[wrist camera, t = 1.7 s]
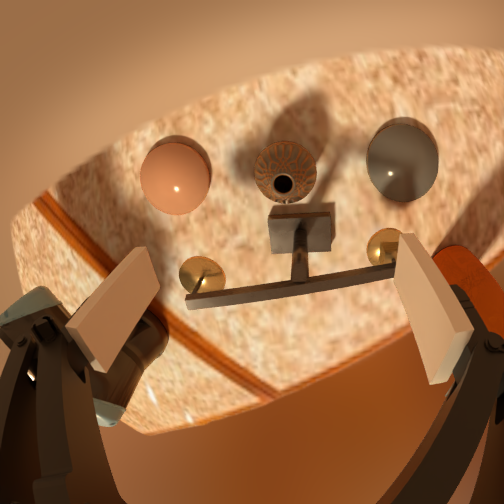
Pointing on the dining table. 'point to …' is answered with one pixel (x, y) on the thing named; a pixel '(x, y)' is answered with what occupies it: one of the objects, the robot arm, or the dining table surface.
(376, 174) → the dish
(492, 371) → the robot arm
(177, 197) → the dish
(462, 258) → the wine bottle
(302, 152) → the vase
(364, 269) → the balance
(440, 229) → the dining table surface
